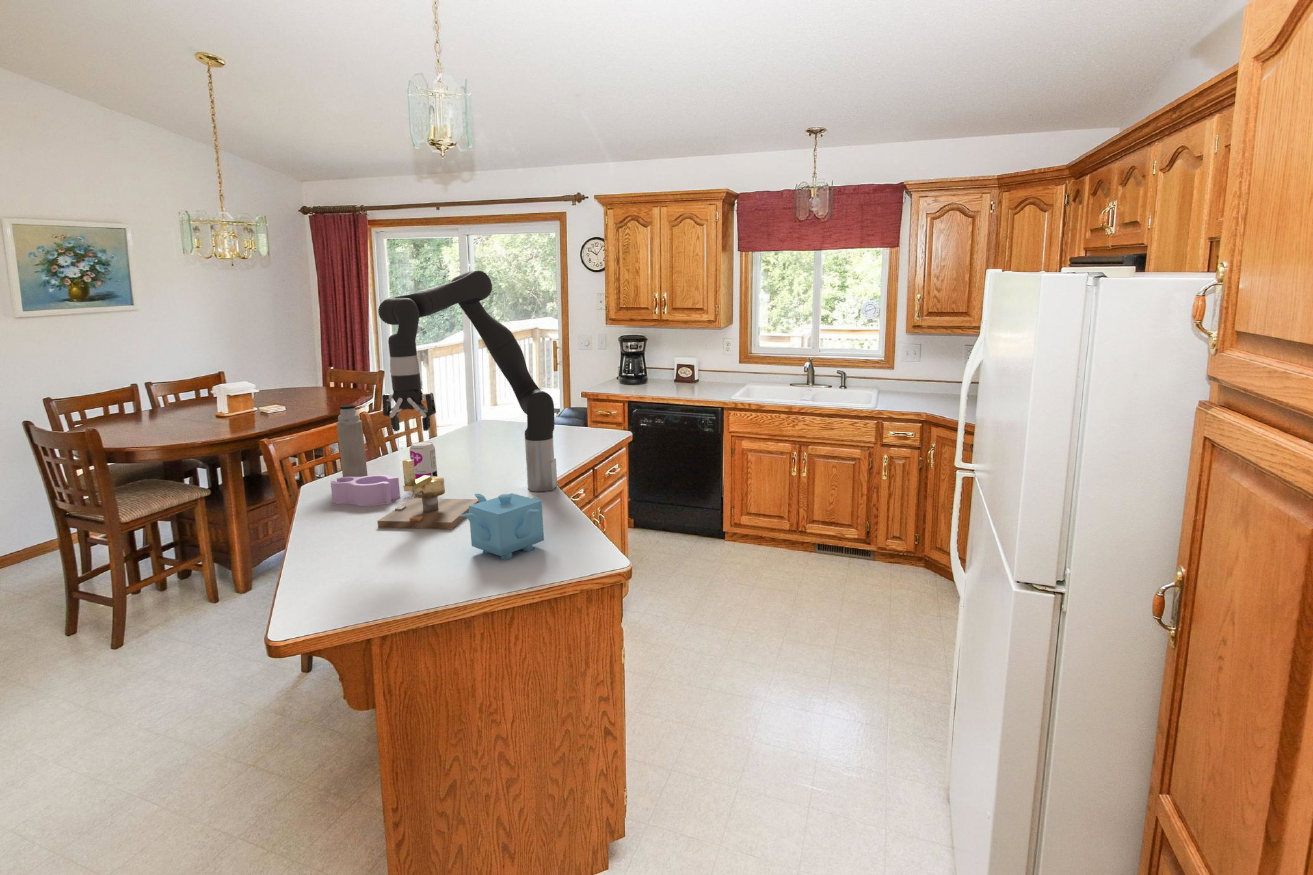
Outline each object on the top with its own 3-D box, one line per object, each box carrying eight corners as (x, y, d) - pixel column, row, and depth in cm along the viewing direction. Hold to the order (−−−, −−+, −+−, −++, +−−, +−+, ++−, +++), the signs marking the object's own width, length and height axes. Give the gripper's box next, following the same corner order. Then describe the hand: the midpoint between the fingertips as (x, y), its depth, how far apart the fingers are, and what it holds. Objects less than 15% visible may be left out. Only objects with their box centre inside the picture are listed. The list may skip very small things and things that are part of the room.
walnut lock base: (480, 505, 222) (478, 484, 221) (451, 529, 201) (449, 506, 199) (413, 504, 225) (411, 483, 223) (378, 527, 203) (375, 505, 202)
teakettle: (545, 536, 194) (542, 483, 191) (542, 561, 176) (539, 504, 173) (474, 540, 192) (470, 487, 189) (464, 566, 174) (459, 508, 171)
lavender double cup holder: (326, 506, 225) (323, 485, 224) (346, 494, 237) (343, 474, 236) (387, 506, 223) (384, 485, 222) (404, 495, 236) (402, 474, 234)
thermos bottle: (351, 481, 253) (342, 403, 247) (372, 481, 253) (364, 403, 247) (339, 487, 246) (329, 407, 240) (361, 487, 245) (352, 407, 239)
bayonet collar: (424, 487, 218) (421, 447, 215) (452, 488, 216) (449, 448, 213) (394, 504, 201) (390, 461, 198) (424, 505, 199) (420, 462, 197)
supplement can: (422, 491, 239) (418, 447, 236) (408, 487, 244) (404, 444, 241) (443, 485, 246) (439, 443, 242) (428, 481, 250) (424, 440, 247)
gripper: (435, 370, 198) (441, 427, 201) (387, 371, 199) (393, 427, 203) (424, 373, 191) (430, 433, 194) (373, 374, 192) (380, 433, 196)
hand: (411, 430), depth 198 cm, fingers open, 8 cm apart
